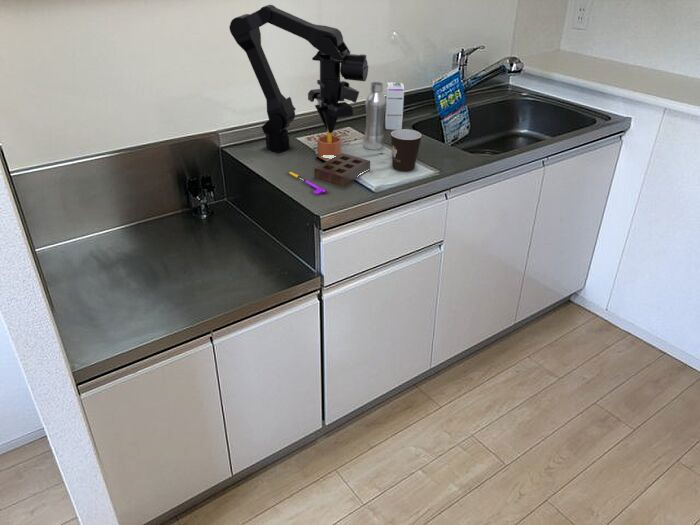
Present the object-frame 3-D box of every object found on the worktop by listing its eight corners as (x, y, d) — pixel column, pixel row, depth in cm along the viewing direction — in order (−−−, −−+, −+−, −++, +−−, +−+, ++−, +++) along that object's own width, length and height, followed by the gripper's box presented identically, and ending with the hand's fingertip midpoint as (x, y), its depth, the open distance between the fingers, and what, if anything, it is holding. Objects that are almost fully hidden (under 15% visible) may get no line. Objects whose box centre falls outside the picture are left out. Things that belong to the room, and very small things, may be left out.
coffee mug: (419, 173, 160) (422, 140, 155) (389, 172, 160) (391, 139, 155) (416, 158, 170) (419, 126, 165) (387, 157, 170) (390, 125, 165)
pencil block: (314, 179, 155) (314, 167, 153) (342, 164, 165) (342, 152, 163) (343, 188, 151) (343, 176, 149) (369, 172, 160) (370, 160, 158)
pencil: (326, 151, 168) (326, 117, 162) (328, 149, 169) (329, 116, 163) (330, 152, 167) (330, 118, 162) (332, 150, 168) (333, 117, 163)
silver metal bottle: (359, 150, 174) (362, 85, 163) (367, 143, 179) (370, 79, 169) (379, 153, 172) (383, 88, 161) (386, 146, 177) (390, 82, 167)
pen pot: (312, 157, 168) (312, 140, 165) (326, 150, 173) (326, 133, 170) (332, 163, 165) (332, 145, 162) (345, 156, 170) (345, 138, 167)
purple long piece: (327, 192, 148) (291, 173, 158) (326, 188, 147) (290, 169, 157) (319, 197, 147) (284, 177, 157) (318, 193, 146) (283, 174, 156)
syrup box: (402, 130, 190) (405, 87, 183) (384, 129, 190) (387, 86, 183) (401, 124, 195) (404, 82, 187) (384, 123, 195) (386, 81, 187)
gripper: (371, 83, 152) (368, 138, 161) (341, 67, 166) (340, 118, 175) (334, 87, 148) (333, 143, 157) (306, 70, 162) (307, 123, 171)
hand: (329, 131), depth 165 cm, fingers closed on pencil, 1 cm apart
